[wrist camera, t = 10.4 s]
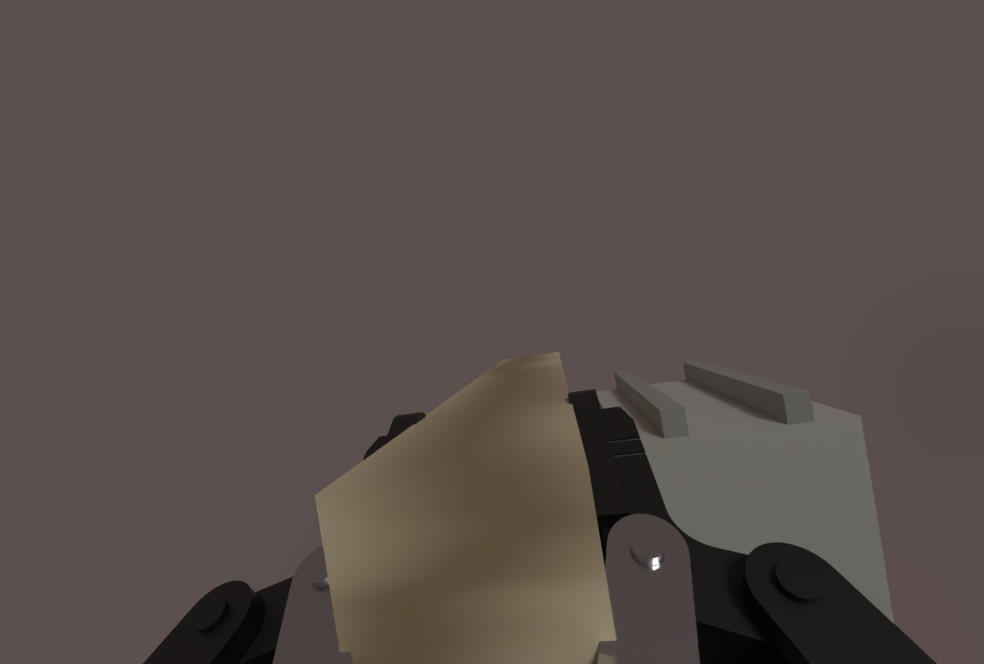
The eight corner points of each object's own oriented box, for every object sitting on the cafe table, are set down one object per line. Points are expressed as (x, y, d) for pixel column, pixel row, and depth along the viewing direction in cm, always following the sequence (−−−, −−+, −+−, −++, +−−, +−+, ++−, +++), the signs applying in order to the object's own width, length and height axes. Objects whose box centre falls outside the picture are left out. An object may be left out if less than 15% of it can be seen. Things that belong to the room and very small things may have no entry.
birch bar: (567, 408, 28) (558, 351, 28) (636, 764, 5) (588, 465, 5) (511, 415, 29) (502, 360, 29) (357, 763, 6) (314, 495, 6)
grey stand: (785, 745, 34) (722, 356, 34) (966, 1073, 19) (855, 385, 19) (652, 745, 36) (591, 375, 36) (723, 1047, 21) (619, 415, 21)
